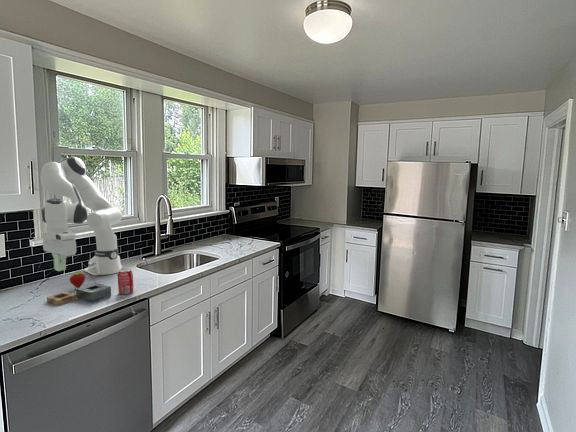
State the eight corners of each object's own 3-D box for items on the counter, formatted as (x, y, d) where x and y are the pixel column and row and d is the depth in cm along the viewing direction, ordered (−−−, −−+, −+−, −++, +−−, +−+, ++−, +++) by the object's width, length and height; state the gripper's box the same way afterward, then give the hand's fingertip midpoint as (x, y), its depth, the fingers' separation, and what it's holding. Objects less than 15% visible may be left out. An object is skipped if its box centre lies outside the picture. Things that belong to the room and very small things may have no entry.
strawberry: (67, 289, 174) (66, 271, 172) (81, 284, 181) (79, 267, 179) (75, 291, 172) (74, 272, 170) (88, 286, 179) (87, 268, 177)
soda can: (128, 289, 176) (127, 267, 175) (136, 291, 173) (135, 269, 171) (115, 293, 170) (114, 270, 169) (123, 296, 167) (122, 273, 165)
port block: (76, 298, 162) (75, 288, 162) (95, 291, 171) (95, 282, 171) (91, 303, 157) (91, 292, 157) (111, 296, 166) (110, 286, 165)
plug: (55, 270, 156) (53, 251, 155) (62, 268, 159) (60, 250, 158) (59, 271, 155) (57, 252, 154) (66, 269, 158) (64, 251, 157)
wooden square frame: (47, 302, 157) (46, 297, 157) (65, 296, 165) (65, 291, 165) (57, 305, 154) (57, 300, 153) (76, 299, 161) (76, 294, 161)
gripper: (37, 232, 156) (40, 260, 158) (64, 237, 148) (66, 267, 150) (52, 230, 162) (54, 257, 164) (78, 234, 153) (80, 263, 155)
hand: (60, 262), depth 157 cm, fingers closed on plug, 3 cm apart
